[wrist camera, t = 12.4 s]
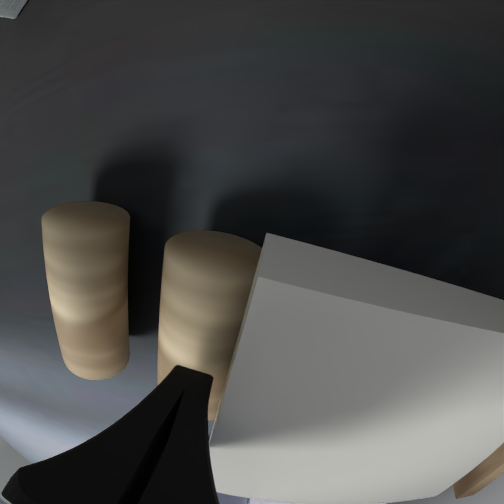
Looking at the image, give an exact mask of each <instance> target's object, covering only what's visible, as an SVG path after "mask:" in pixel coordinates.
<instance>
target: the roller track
mask: <svg viewBox="0 0 504 504" xmlns="http://www.w3.org/2000/svg"><path fill="white" fill-rule="evenodd" d="M129 230H130V215H129V213H128V212H127V211H126V210H124V209H123V208H121V207H119V206H116V205H113V204H109V203H104V202H96V201H79V202H71V203H66V204H62V205H59V206H56V207H53V208H52V209H50V210H48V211H47V212H46V213H45V214H44V215H43V217H42V235H43V247H44V258H45V266H46V274H47V282H48V288H49V295H50V301H51V306H52V312H53V317H54V322H55V326H56V331H57V336H58V340H59V344H60V348H61V352H62V356H63V360H64V362H65V364H66V366H67V367H68V369H69V370H70V371H72V372H73V373H74V374H76V375H77V376H80V377H82V378H85V379H90V380H102V379H107V378H110V377H113V376H115V375H117V374H118V373H120V372H121V371H122V370H123V369H124V368H125V367H126V365H127V364H128V361H129V357H130V350H129V329H128V252H129ZM261 251H262V248H261V247H260V246H259V245H257V244H255V243H253V242H251V241H249V240H247V239H245V238H242V237H239V236H236V235H233V234H229V233H224V232H218V231H209V230H194V231H187V232H182V233H179V234H176V235H174V236H173V237H171V238H170V239H169V240H168V241H167V242H166V244H165V249H164V259H163V271H162V283H161V298H160V315H159V336H158V383H157V386H158V385H159V384H160V383H161V382H162V381H163V379H164V378H165V377H166V376H167V375H168V374H169V373H170V371H171V370H172V369H173V368H174V366H176V365H181V366H184V367H187V368H190V369H193V370H197V371H200V372H203V373H207V374H210V375H212V377H213V383H212V388H211V393H210V398H209V405H208V421H211V420H214V419H215V417H216V414H217V410H218V407H219V403H220V400H221V396H222V393H223V389H224V386H225V382H226V378H227V375H228V371H229V368H230V364H231V360H232V357H233V353H234V350H235V346H236V342H237V339H238V335H239V332H240V328H241V324H242V321H243V317H244V314H245V310H246V306H247V303H248V299H249V295H250V292H251V288H252V284H253V281H254V277H255V273H256V270H257V266H258V262H259V258H260V255H261Z"/></svg>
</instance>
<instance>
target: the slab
mask: <svg viewBox="0 0 504 504" xmlns="http://www.w3.org/2000/svg"><path fill="white" fill-rule="evenodd" d="M503 443H504V300H501V299H498V298H495V297H492V296H489V295H485V294H482V293H479V292H476V291H472V290H469V289H466V288H463V287H459V286H456V285H453V284H449V283H446V282H443V281H439V280H436V279H432V278H429V277H426V276H422V275H419V274H415V273H412V272H408V271H405V270H401V269H398V268H394V267H391V266H387V265H384V264H380V263H377V262H373V261H370V260H366V259H363V258H359V257H355V256H352V255H348V254H345V253H341V252H337V251H334V250H330V249H326V248H323V247H319V246H315V245H311V244H308V243H304V242H300V241H296V240H293V239H289V238H285V237H281V236H277V235H274V234H270V233H266V236H265V240H264V244H263V247H262V251H261V255H260V258H259V262H258V266H257V270H256V273H255V277H254V281H253V284H252V288H251V292H250V295H249V299H248V303H247V306H246V310H245V314H244V317H243V321H242V324H241V328H240V332H239V335H238V339H237V342H236V346H235V350H234V353H233V357H232V360H231V364H230V368H229V371H228V375H227V378H226V382H225V386H224V389H223V393H222V396H221V400H220V403H219V407H218V410H217V414H216V417H215V421H214V424H213V428H212V431H211V435H210V439H209V450H210V459H211V466H212V472H213V478H214V483H215V487H216V492H218V493H223V494H228V495H233V496H239V497H245V498H251V499H258V500H265V501H274V502H283V503H295V504H379V503H391V502H399V501H408V500H415V499H421V498H428V497H433V496H437V495H438V494H439V493H441V492H443V491H444V490H445V489H447V488H448V487H450V486H451V485H453V484H454V483H455V482H457V481H458V480H459V479H461V478H462V477H463V476H465V475H466V474H467V473H469V472H470V471H471V470H473V469H474V468H475V467H476V466H478V465H479V464H480V463H481V462H482V461H484V460H485V459H486V458H487V457H488V456H489V455H491V454H492V453H493V452H494V451H495V450H496V449H497V448H498V447H500V446H501V445H502V444H503Z"/></svg>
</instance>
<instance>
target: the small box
mask: <svg viewBox="0 0 504 504" xmlns="http://www.w3.org/2000/svg"><path fill="white" fill-rule="evenodd" d="M26 2H27V0H0V17H7V18H12V19H15V18H16V17H17V15H18V14H19V12H20V11H21V9H22V8H23V6H24V5H25V3H26Z"/></svg>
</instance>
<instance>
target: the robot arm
mask: <svg viewBox="0 0 504 504" xmlns="http://www.w3.org/2000/svg"><path fill="white" fill-rule="evenodd" d="M212 383H213V377H212V375H210V374H207V373H203V372H200V371H197V370H193V369H190V368H187V367H184V366H181V365H176V366H174V368H173V369H172V370H171V371H170V373H169V374H168V375H167V376H166V377H165V378H164V379H163V381H162V382H161V383H160V384H159V385H158V386H157V387H156V388H155V389H154V390H153V391H152V392H151V393H150V394H149V395H148V396H147V397H145V398H144V399H143V400H142V401H141V402H140V403H139V404H138V405H137V406H136V407H134V408H133V409H132V410H131V411H129V412H128V413H127V414H126V415H124V416H123V417H122V418H121V419H119V420H118V421H117V422H115V423H114V424H113V425H111V426H110V427H108V428H107V429H105V430H104V431H102V432H101V433H99V434H98V435H96V436H94V437H93V438H91V439H89V440H87V441H86V442H84V443H82V444H80V445H78V446H76V447H74V448H72V449H70V450H68V451H66V452H63V453H61V454H59V455H56V456H54V457H52V458H49V459H46V460H43V461H40V462H37V463H34V464H31V465H27V466H24V467H21V468H19V469H18V470H17V471H16V473H15V474H14V475H13V476H12V477H11V478H10V480H9V482H8V483H7V485H6V486H5V488H4V490H3V491H2V496H3V497H4V498H5V499H7V500H8V501H9V502H10V503H12V504H249V503H250V498H245V497H239V496H233V495H228V494H223V493H218V492H216V487H215V483H214V478H213V472H212V466H211V459H210V450H209V438H208V405H209V398H210V393H211V388H212ZM0 504H6V503H5V502H4V501H2V500H1V499H0Z"/></svg>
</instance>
